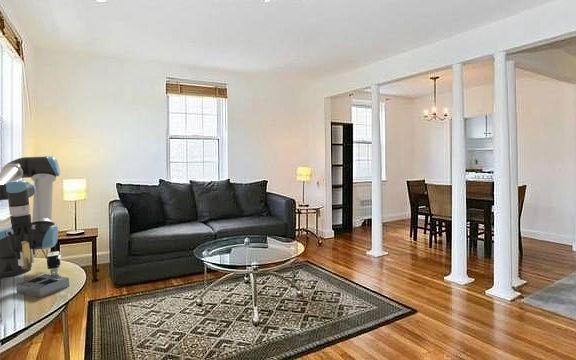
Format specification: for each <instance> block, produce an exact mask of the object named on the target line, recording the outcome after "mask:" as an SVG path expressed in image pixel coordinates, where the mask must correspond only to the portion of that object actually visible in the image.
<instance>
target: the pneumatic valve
mask: <svg viewBox="0 0 576 360" xmlns="http://www.w3.org/2000/svg"><path fill="white" fill-rule="evenodd" d="M61 253H62V252H60V251H59V250H56V251H49V252H48V253H47V255H46V265H47V270H49V272H50V275H55V276H60V269H59V268H60V266H61V263H62V261H63V259H62V254H61Z"/></svg>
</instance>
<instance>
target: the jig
mask: <svg viewBox="0 0 576 360" xmlns="http://www.w3.org/2000/svg"><path fill="white" fill-rule="evenodd" d="M69 279H70V278H69V277H67V276H61V275H56V276H55V275H51V274H47V273H44V274H42V275H38V276H36V277H32V278H29V279H28V280H24V281H21V282H18V283H15V290H16V294H21V295H24V296H25V295H26V296H31V297H35V298H36V297H37V298H43V297H45V296H48V295H51V294H53V293H55V292H56V293H57V292H58V291H60V290H63V289H66V288H68V287H70V280H69Z"/></svg>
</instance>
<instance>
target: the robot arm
mask: <svg viewBox="0 0 576 360" xmlns="http://www.w3.org/2000/svg"><path fill="white" fill-rule="evenodd" d="M60 172H61V171H60V166H59V162H58V160H57V158H56V157H55V156H53V155H52V156H51V155H49V156H47V155H45V156H27V157H25V156H24V157H19V158H15V159H13V160H11V161H10V162H8V163H6V164H4V166H3V167H2V169H1V172H0V201H8V211H9V215H10V216H9V218H10V224H11V226H10V227H7V228H4V229H0V278H8V277H14V276H17V275H21V274H25V273H27V272H30V271H31V270H32V267H31V268H28V269H22V267H21V266H24V261H23V253H22V252H20V249H21V242H24V241H29V244H30V252H31V260H32V264H34V263H35V257H34V256H35V254H36V252H35V251H36V250H37V251H38V250H47V249H51V248H54V247H55V246H56V244H57V243H58V238H59V227H58V225H55V224H56V223H55V222H54V221H52V218H53V215H52V211H53V184H54V183H53V182H55V181H56V180H57V177H59V176H60V175H61V173H60ZM28 178H30V179H31V181H33V183H32V182H31V181H27V180H21V179H28ZM32 196H33V201H32V202H33V203H32V205H33V206H32V215H31V208H30V200H29V198H31V197H32Z"/></svg>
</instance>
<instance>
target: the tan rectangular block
mask: <svg viewBox="0 0 576 360" xmlns="http://www.w3.org/2000/svg"><path fill="white" fill-rule="evenodd" d="M20 252H22V253H23V261H24V266H21V267H22V269H28V268H31V269H32V267H33V263H32V260H31V252H30V244H29V241H24V242H21V249H20Z"/></svg>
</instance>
